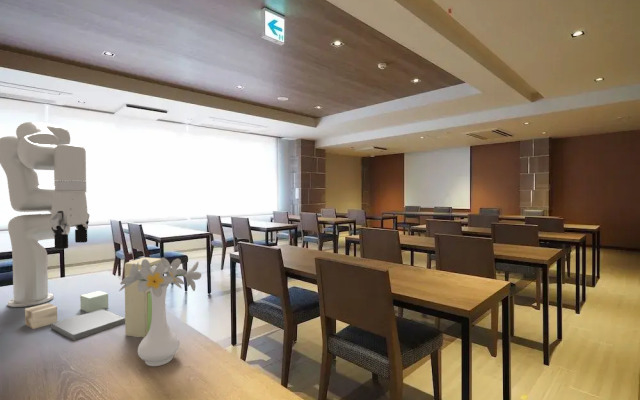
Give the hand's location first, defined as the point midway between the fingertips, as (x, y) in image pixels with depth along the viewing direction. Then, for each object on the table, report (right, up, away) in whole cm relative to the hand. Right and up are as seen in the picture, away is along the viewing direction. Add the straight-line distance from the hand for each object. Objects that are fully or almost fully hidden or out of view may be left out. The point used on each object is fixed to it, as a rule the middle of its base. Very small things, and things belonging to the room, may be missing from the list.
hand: (71, 245), depth 99 cm
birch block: (-12, -25, +4) cm, 28 cm away
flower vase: (+34, -26, -16) cm, 46 cm away
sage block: (-5, -24, +17) cm, 30 cm away
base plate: (+3, -25, +3) cm, 25 cm away
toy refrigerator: (+22, -26, 0) cm, 34 cm away
